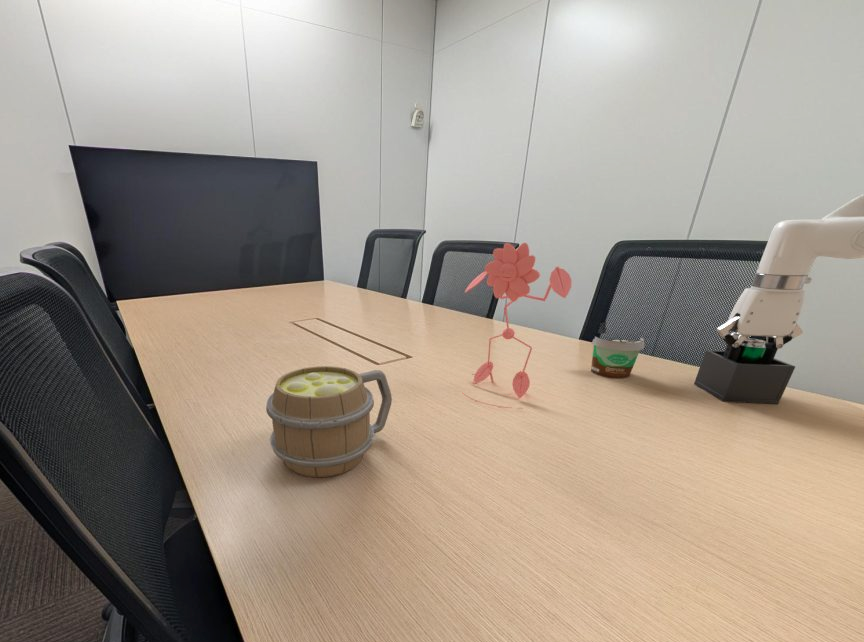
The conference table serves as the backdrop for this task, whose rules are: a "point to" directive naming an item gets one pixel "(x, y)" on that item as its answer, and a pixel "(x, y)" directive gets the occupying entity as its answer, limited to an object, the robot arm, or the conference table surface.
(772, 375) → the trash bin
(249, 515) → the conference table surface
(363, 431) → the mug
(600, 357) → the food container
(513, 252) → the figurine
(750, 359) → the soda can
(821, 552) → the conference table surface
